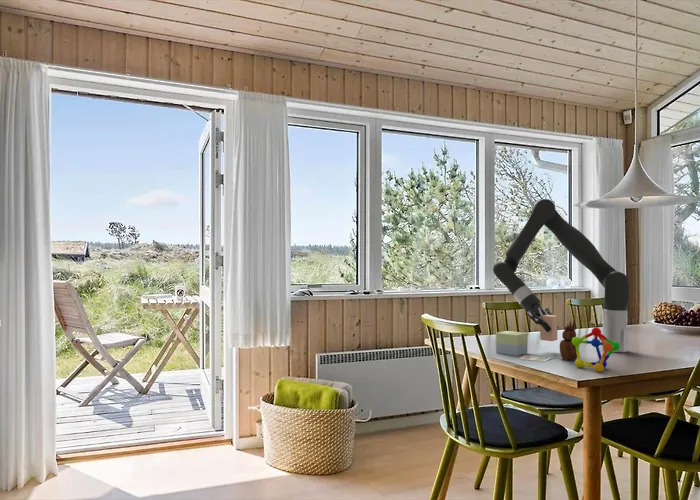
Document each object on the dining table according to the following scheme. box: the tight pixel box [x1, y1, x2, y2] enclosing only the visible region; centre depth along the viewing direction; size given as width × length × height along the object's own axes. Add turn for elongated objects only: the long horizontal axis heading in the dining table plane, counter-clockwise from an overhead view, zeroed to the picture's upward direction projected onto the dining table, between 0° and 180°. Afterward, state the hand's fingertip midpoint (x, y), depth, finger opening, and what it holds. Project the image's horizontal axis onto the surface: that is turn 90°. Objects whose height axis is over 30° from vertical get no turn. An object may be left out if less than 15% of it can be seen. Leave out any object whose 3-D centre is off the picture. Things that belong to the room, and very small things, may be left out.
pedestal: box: [495, 330, 529, 357], centre depth 224 cm, size 9×9×8 cm
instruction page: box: [518, 354, 552, 363], centre depth 213 cm, size 10×8×1 cm
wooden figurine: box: [559, 319, 580, 362], centre depth 212 cm, size 7×6×15 cm
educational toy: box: [572, 326, 620, 373], centre depth 196 cm, size 16×13×15 cm
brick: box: [539, 314, 559, 342], centre depth 228 cm, size 5×5×10 cm
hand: (553, 330), depth 227 cm, fingers closed on brick, 5 cm apart
